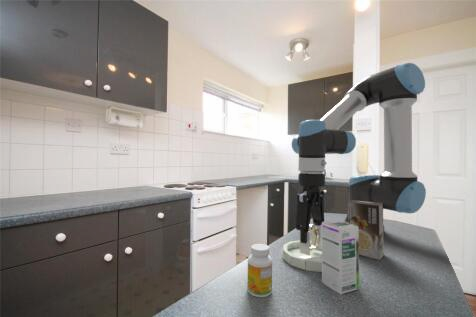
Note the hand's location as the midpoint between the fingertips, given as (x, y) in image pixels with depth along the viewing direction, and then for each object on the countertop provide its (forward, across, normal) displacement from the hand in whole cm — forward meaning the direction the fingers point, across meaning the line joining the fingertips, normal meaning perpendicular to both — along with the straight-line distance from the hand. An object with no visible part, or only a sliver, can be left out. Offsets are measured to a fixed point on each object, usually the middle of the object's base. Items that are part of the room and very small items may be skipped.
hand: (310, 249), depth 67 cm
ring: (0, 0, 0) cm, 0 cm away
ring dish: (+3, 0, 0) cm, 3 cm away
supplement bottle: (+3, -24, +1) cm, 24 cm away
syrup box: (+3, -10, -11) cm, 15 cm away
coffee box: (+3, +16, -11) cm, 20 cm away
